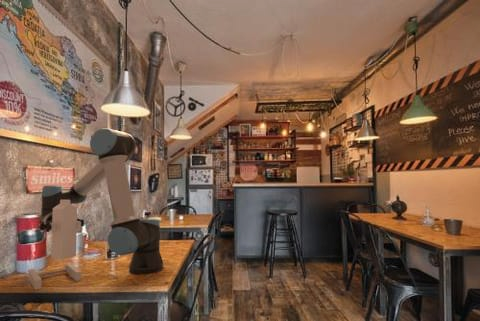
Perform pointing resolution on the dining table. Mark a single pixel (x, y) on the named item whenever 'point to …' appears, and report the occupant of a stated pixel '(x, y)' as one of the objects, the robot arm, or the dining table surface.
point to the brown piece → (37, 279)
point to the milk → (64, 230)
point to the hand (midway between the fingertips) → (67, 226)
